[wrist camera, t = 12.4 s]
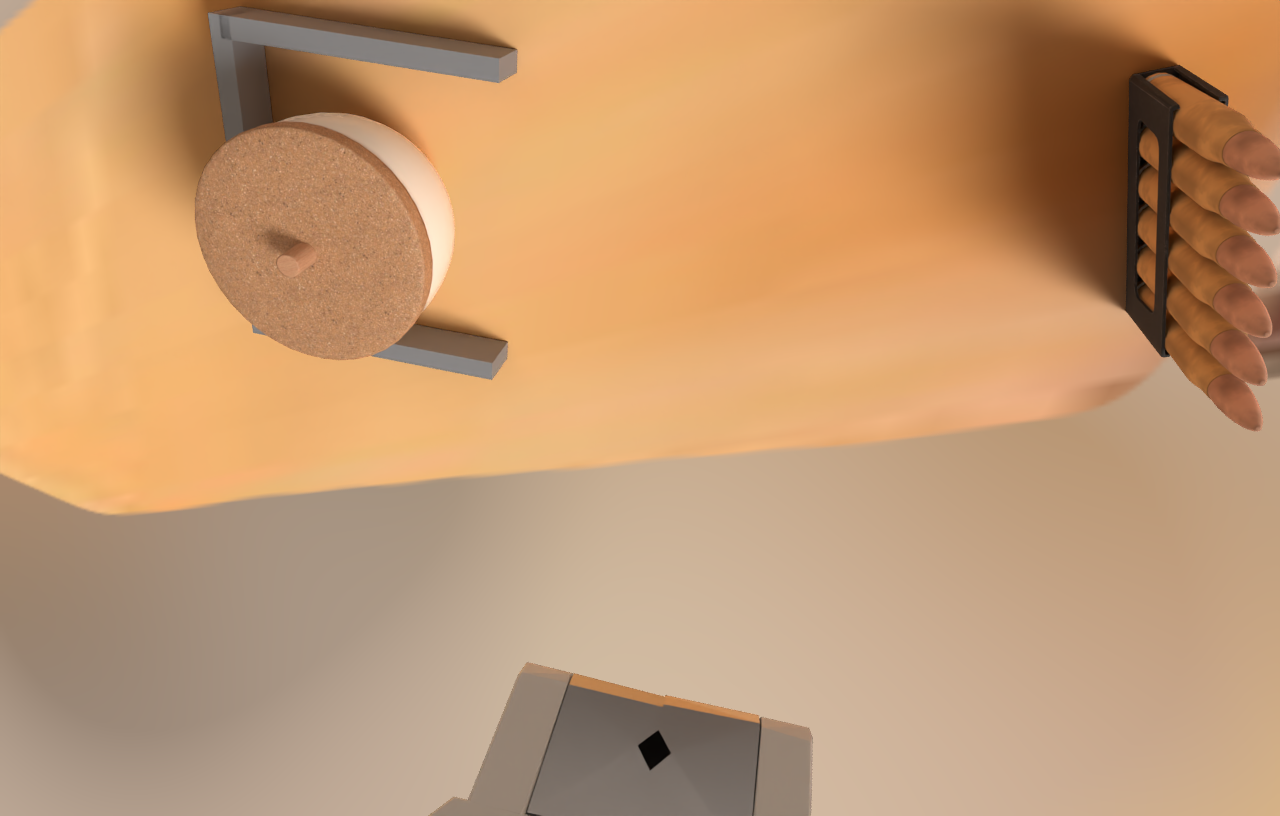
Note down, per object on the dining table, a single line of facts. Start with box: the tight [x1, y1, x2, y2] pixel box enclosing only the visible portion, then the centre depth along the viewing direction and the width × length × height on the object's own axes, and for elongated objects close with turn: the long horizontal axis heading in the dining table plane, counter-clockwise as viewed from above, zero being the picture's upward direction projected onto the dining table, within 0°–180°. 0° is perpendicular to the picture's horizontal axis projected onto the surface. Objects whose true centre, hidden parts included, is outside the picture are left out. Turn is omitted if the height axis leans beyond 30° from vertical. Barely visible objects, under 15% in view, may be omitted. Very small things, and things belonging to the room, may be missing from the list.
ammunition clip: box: [1126, 65, 1280, 431], centre depth 32 cm, size 11×2×12 cm, turn 14°
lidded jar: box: [195, 112, 455, 360], centre depth 40 cm, size 11×11×9 cm
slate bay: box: [208, 6, 517, 380], centre depth 43 cm, size 14×16×2 cm
